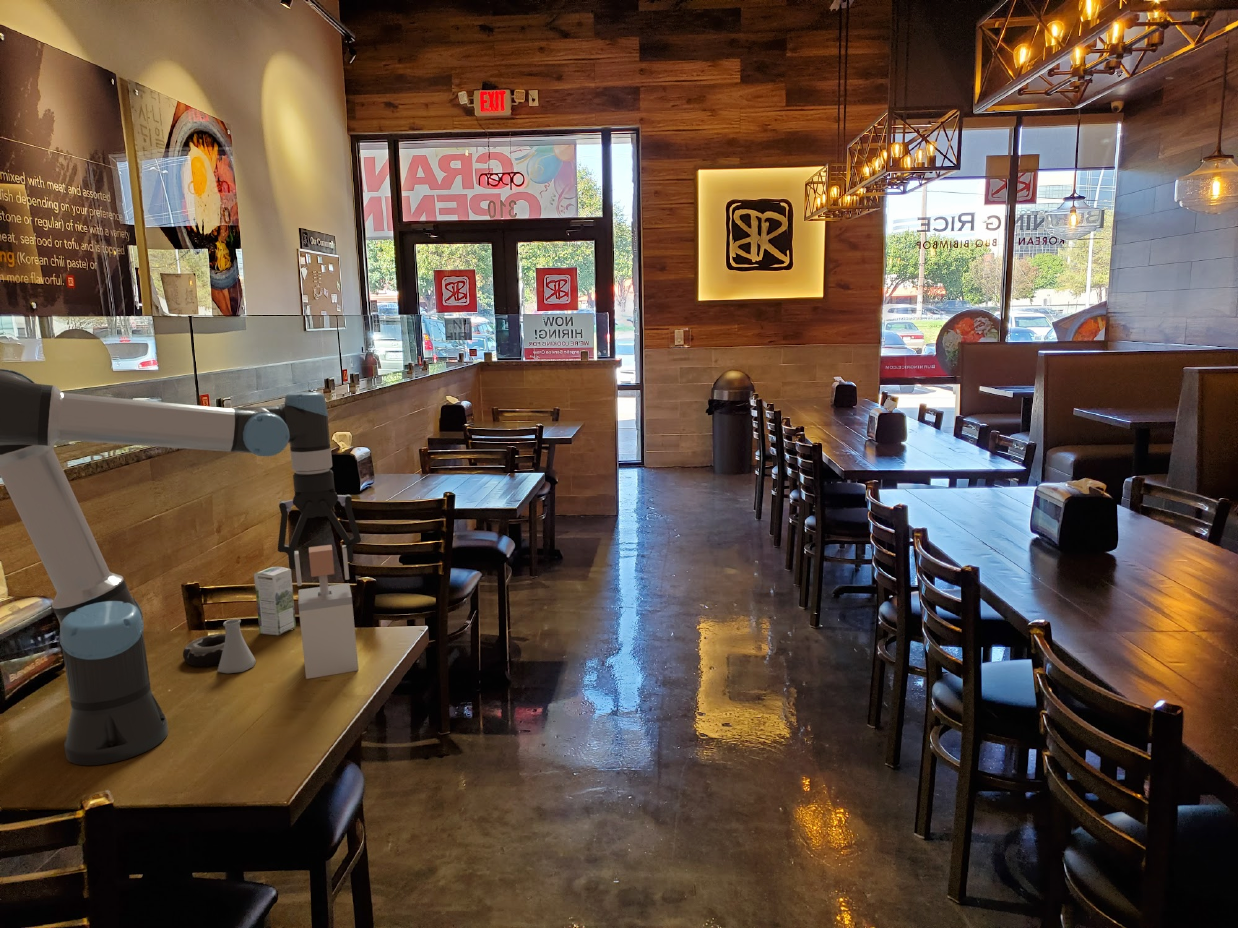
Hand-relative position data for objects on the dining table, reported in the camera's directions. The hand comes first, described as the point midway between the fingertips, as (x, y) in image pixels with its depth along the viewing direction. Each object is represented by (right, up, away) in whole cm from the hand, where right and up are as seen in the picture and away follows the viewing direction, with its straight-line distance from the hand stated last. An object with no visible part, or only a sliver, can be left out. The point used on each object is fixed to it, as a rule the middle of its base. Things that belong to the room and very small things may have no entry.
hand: (323, 580), depth 172 cm
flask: (-19, -19, +4) cm, 27 cm away
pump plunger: (0, -13, +2) cm, 13 cm away
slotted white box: (+1, -18, +3) cm, 18 cm away
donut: (-27, -18, +10) cm, 34 cm away
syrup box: (-19, -15, +25) cm, 35 cm away
